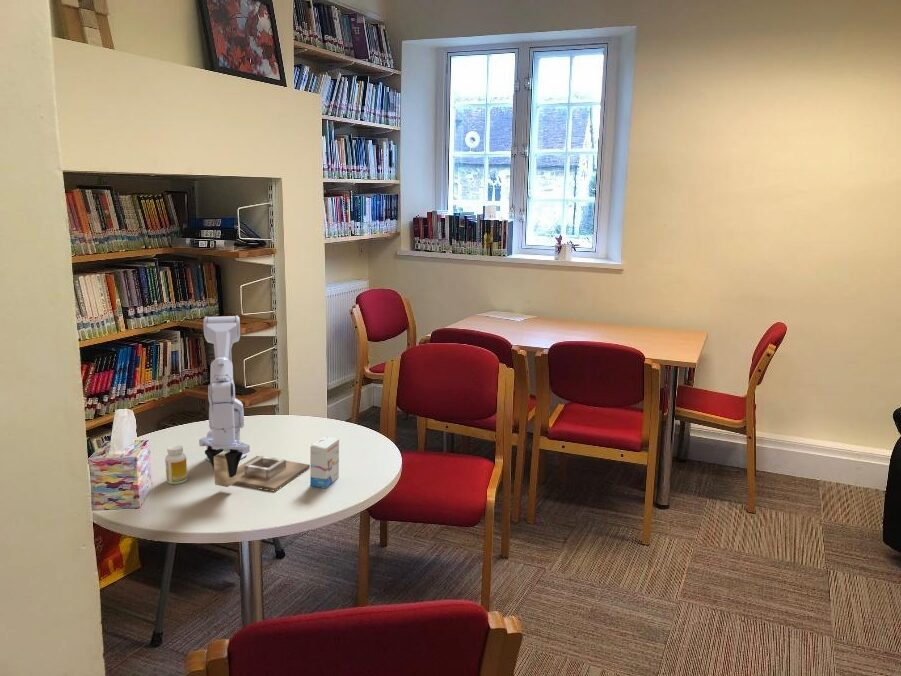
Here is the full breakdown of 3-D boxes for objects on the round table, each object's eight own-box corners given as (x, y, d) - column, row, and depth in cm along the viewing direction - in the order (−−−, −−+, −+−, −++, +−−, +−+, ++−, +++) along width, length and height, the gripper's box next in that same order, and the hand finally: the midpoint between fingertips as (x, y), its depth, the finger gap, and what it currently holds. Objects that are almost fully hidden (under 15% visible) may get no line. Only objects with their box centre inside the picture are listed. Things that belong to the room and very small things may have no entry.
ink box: (326, 489, 201) (325, 447, 198) (309, 486, 202) (308, 445, 199) (339, 477, 209) (339, 437, 206) (323, 474, 210) (323, 435, 207)
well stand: (219, 481, 204) (218, 469, 203) (257, 458, 221) (256, 447, 220) (275, 491, 198) (274, 479, 197) (309, 467, 215) (309, 456, 214)
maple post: (215, 484, 196) (213, 456, 194) (224, 479, 199) (223, 451, 198) (227, 487, 194) (226, 458, 193) (236, 481, 198) (235, 453, 196)
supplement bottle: (191, 478, 206) (189, 445, 203) (178, 485, 201) (176, 452, 198) (175, 475, 207) (173, 442, 205) (162, 482, 202) (160, 449, 200)
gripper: (190, 427, 192) (193, 475, 195) (237, 434, 187) (239, 484, 190) (207, 419, 199) (210, 466, 202) (253, 426, 194) (255, 474, 197)
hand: (225, 474), depth 196 cm, fingers closed on maple post, 4 cm apart
